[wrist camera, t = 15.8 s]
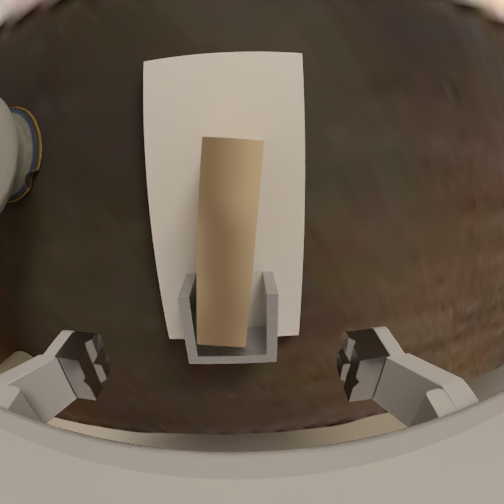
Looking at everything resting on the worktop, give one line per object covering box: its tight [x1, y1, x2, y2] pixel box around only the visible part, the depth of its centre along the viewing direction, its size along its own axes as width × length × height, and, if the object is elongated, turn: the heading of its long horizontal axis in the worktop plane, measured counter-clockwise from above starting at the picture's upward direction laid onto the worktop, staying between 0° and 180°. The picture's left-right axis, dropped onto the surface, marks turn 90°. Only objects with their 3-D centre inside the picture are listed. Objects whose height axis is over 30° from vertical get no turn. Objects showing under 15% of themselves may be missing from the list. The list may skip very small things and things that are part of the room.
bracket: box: [143, 52, 305, 364], centre depth 21 cm, size 12×24×6 cm, turn 1°
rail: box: [197, 137, 264, 347], centre depth 21 cm, size 4×14×5 cm, turn 175°
